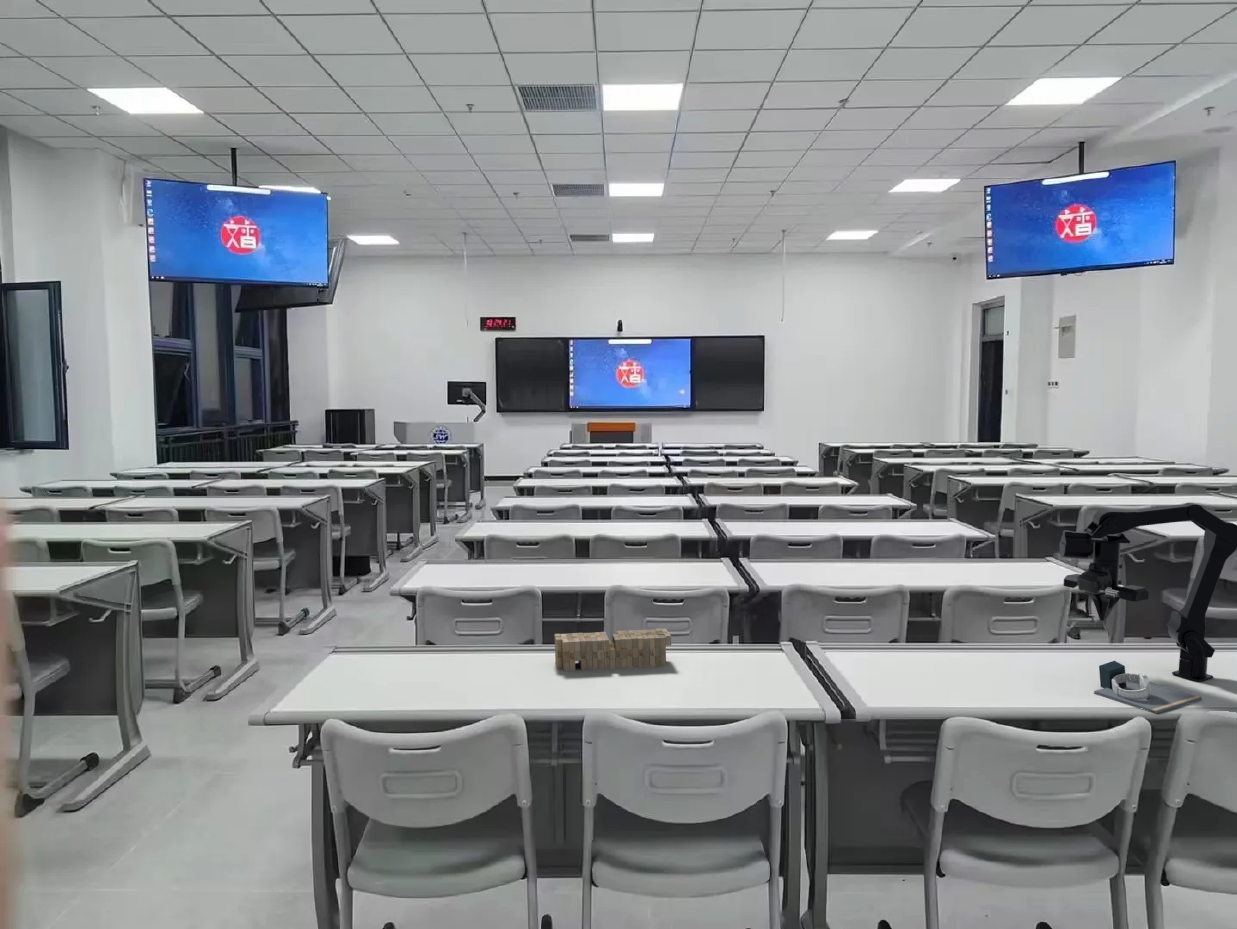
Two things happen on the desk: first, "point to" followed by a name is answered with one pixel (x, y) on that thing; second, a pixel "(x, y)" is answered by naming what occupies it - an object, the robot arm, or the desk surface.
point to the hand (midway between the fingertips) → (1102, 620)
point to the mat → (1153, 697)
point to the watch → (1123, 681)
